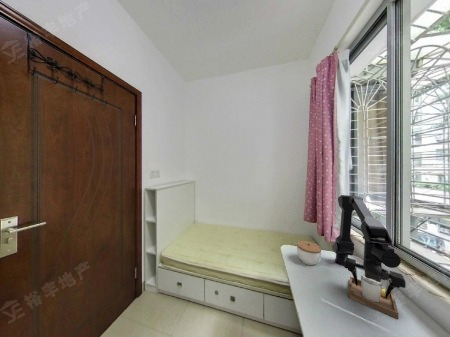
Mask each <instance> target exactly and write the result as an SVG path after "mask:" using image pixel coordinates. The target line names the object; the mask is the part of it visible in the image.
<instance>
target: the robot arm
mask: <svg viewBox="0 0 450 337" xmlns="http://www.w3.org/2000/svg"><path fill="white" fill-rule="evenodd" d="M337 202H338V207H339V208H340V210H341V211H340V212H341V214H340V215H341V216H340V227H339V228H340V229H339V235H338V236H337V237H336V238H335V242H334V243H333V245H331V246H332V252H334V254H335V259H334V261H333V262H334V263H335V264H336V265H337V264H338V265H340V266H343V267H344V268H345V269H346V270H347V271H348V272H350V273H351V274H352V277H353V278H354V280H355V283H356V286H358V279H359V278H358V270H362V271H364V275H365V277H366V278H368V279H372V280H375V281H377V282H381V283H382V280H383V281H386V285H385V289H386V291H385V297H386V298H387V297H388V295H389V294H390V292H391V291H392V292H393V290H394V289H396V288H397V289H401V288H403V289H405V288H406V287H407V286H406V284H407V283H406V280H405V277H404V275H403V274H402V273H399V272H396V271H392V270H387V269H385V268H383V267H382V266H383V265H384V266H386V267H387V268H391V269H395V268H397V267H399V266H400V265H401V262H402V260H401V257H400V256H399V255H398V254H397V253H396V252H395V249H394V248H393V246H394V245H393V243H392V242H393V240H392V238H391V236H390V235H389V234H390V233H389V231H388V229H387V228H386V227H385V226H384V224H383V223H382V222H381V221H379V220H378V219H376V218H374V216H373V215H372V213H371V212H370V210H369V208H368V207H367V205H366V204H365V202H364V198H363V197H362V196H357V195H349V194H348V195H346V194H345V195H344V194H340V195H339V196H338V198H337ZM353 212H355V213H356V215H357V217H358V219H359V220H360V223H361V224H360V226H359V227H360V230H361V233H362V235H363V236H362V237H361V238H362V239H363V240H364V243H363V244H364V248H363V262H362V263H363V264H360V263H358V262H357V260H356V259H353V258H350V257H349V256H352V257H353V255H354V253H355V252H354V251H355V247H354V246H355V244H354V242H353V241H352V239H351V232H352V220H353V219H352V218H353ZM382 264H383V265H382Z"/></svg>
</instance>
